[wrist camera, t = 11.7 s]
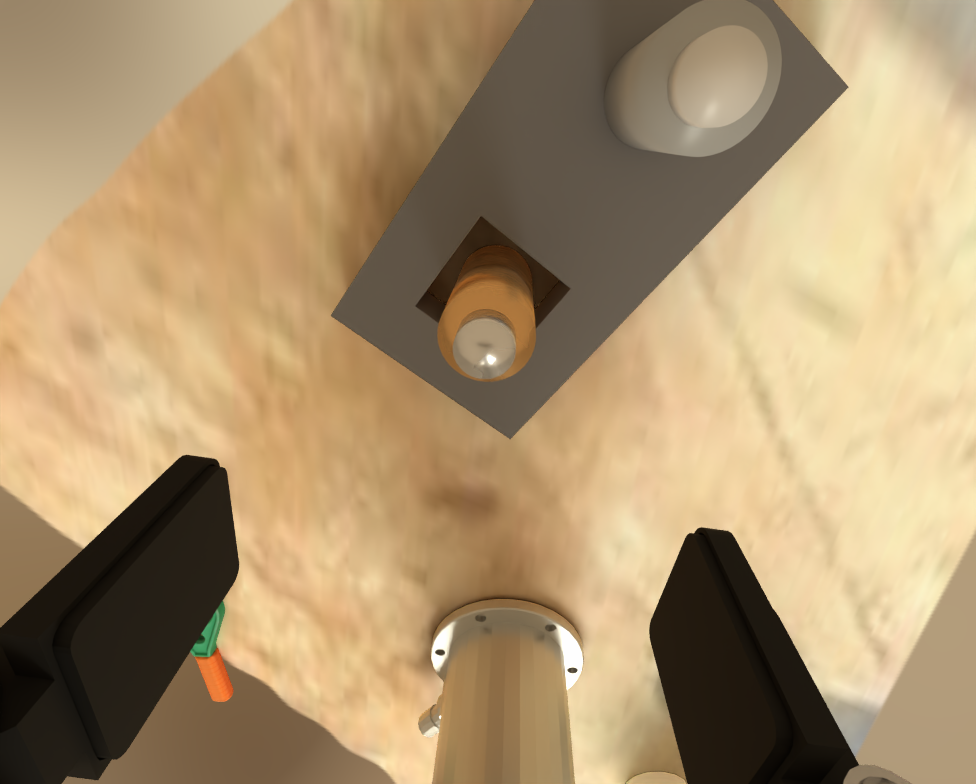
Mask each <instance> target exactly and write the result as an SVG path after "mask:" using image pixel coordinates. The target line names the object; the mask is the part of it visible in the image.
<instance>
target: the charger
mask: <svg viewBox="0 0 976 784" xmlns="http://www.w3.org/2000/svg"><path fill="white" fill-rule="evenodd" d="M847 88H848V86H847V85H846V83H845V82H844V81H843V80H842V79H841V78H840V77H839V75H838V74H837V73H836V72H835V71H834V70H833V69H832V67H831V66H830V65H829V64H828V63H827V62H826V61H825V59H824V58H823V57H822V56H821V55H820V54H819V52H818V51H817V50H816V49H815V48H814V47H813V46H812V44H811V43H810V42H809V41H808V40H807V39H806V38H805V36H804V35H803V34H802V33H801V32H800V31H799V30H798V28H797V27H796V26H795V25H794V24H793V23H792V21H791V20H790V19H789V18H788V17H787V16H786V15H785V13H784V12H783V11H782V10H781V9H780V8H779V7H778V5H777V4H776V3H775V2H774V1H773V0H535V1H534V2H533V4H532V5H531V7H530V8H529V10H528V11H527V13H526V14H525V16H524V18H523V19H522V21H521V22H520V24H519V25H518V27H517V28H516V30H515V31H514V33H513V35H512V36H511V38H510V39H509V41H508V42H507V44H506V45H505V47H504V48H503V50H502V52H501V53H500V55H499V56H498V58H497V59H496V61H495V62H494V64H493V65H492V67H491V69H490V70H489V72H488V73H487V75H486V76H485V78H484V79H483V81H482V82H481V84H480V86H479V87H478V89H477V90H476V92H475V93H474V95H473V96H472V98H471V100H470V101H469V103H468V104H467V106H466V107H465V109H464V110H463V112H462V113H461V115H460V117H459V118H458V120H457V121H456V123H455V124H454V126H453V127H452V129H451V130H450V132H449V134H448V135H447V137H446V138H445V140H444V141H443V143H442V144H441V146H440V147H439V149H438V151H437V152H436V154H435V155H434V157H433V158H432V160H431V161H430V163H429V164H428V166H427V168H426V169H425V171H424V172H423V174H422V175H421V177H420V178H419V180H418V181H417V183H416V185H415V186H414V188H413V189H412V191H411V192H410V194H409V195H408V197H407V198H406V200H405V202H404V203H403V205H402V206H401V208H400V209H399V211H398V212H397V214H396V215H395V217H394V219H393V220H392V222H391V223H390V225H389V226H388V228H387V229H386V231H385V232H384V234H383V236H382V237H381V239H380V240H379V242H378V243H377V245H376V246H375V248H374V249H373V251H372V253H371V254H370V256H369V257H368V259H367V260H366V262H365V263H364V265H363V266H362V268H361V270H360V271H359V273H358V274H357V276H356V277H355V279H354V280H353V282H352V283H351V285H350V287H349V288H348V290H347V291H346V293H345V294H344V296H343V297H342V299H341V300H340V302H339V304H338V305H337V307H336V308H335V310H334V311H333V313H332V314H331V316H332V317H333V318H335V319H336V320H338V321H339V322H341V323H342V324H344V325H345V326H346V327H348V328H349V329H351V330H352V331H354V332H355V333H357V334H358V335H360V336H361V337H362V338H364V339H365V340H367V341H368V342H370V343H371V344H373V345H374V346H375V347H377V348H378V349H380V350H381V351H383V352H384V353H386V354H387V355H389V356H390V357H391V358H393V359H394V360H396V361H397V362H399V363H400V364H402V365H403V366H405V367H406V368H407V369H409V370H410V371H412V372H413V373H415V374H416V375H418V376H419V377H421V378H422V379H423V380H425V381H426V382H428V383H429V384H431V385H432V386H434V387H435V388H437V389H438V390H439V391H441V392H442V393H444V394H445V395H447V396H448V397H450V398H451V399H452V400H454V401H455V402H457V403H458V404H460V405H461V406H463V407H464V408H466V409H467V410H468V411H470V412H471V413H473V414H474V415H476V416H477V417H479V418H480V419H482V420H483V421H484V422H486V423H487V424H489V425H490V426H492V427H493V428H495V429H496V430H498V431H499V432H500V433H502V434H503V435H505V436H506V437H508V438H509V439H511V438H512V437H513V436H514V435H515V434H516V433H517V432H518V431H519V429H520V428H521V427H522V426H523V425H524V424H525V423H526V422H527V421H528V420H529V419H530V418H531V417H532V416H533V415H534V414H535V413H536V412H537V411H538V410H539V409H540V408H541V407H542V406H543V405H544V403H545V402H546V401H547V400H548V399H549V398H550V397H551V396H552V395H553V394H554V393H555V392H556V391H557V390H558V389H559V388H560V387H561V386H562V385H563V384H564V383H565V382H566V381H567V380H568V379H569V377H570V376H571V375H572V374H573V373H574V372H575V371H576V370H577V369H578V368H579V367H580V366H581V365H582V364H583V363H584V362H585V361H586V360H587V359H588V358H589V357H590V356H591V355H592V354H593V353H594V351H595V350H596V349H597V348H598V347H599V346H600V345H601V344H602V343H603V342H604V341H605V340H606V339H607V338H608V337H609V336H610V335H611V334H612V333H613V332H614V331H615V330H616V329H617V328H618V326H619V325H620V324H621V323H622V322H623V321H624V320H625V319H626V318H627V317H628V316H629V315H630V314H631V313H632V312H633V311H634V310H635V309H636V308H637V307H638V306H639V305H640V304H641V303H642V302H643V300H644V299H645V298H646V297H647V296H648V295H649V294H650V293H651V292H652V291H653V290H654V289H655V288H656V287H657V286H658V285H659V284H660V283H661V282H662V281H663V280H664V279H665V278H666V277H667V276H668V274H669V273H670V272H671V271H672V270H673V269H674V268H675V267H676V266H677V265H678V264H679V263H680V262H681V261H682V260H683V259H684V258H685V257H686V256H687V255H688V254H689V253H690V252H691V251H692V250H693V248H694V247H695V246H696V245H697V244H698V243H699V242H700V241H701V240H702V239H703V238H704V237H705V236H706V235H707V234H708V233H709V232H710V231H711V230H712V229H713V228H714V227H715V226H716V225H717V224H718V222H719V221H720V220H721V219H722V218H723V217H724V216H725V215H726V214H727V213H728V212H729V211H730V210H731V209H732V208H733V207H734V206H735V205H736V204H737V203H738V202H739V201H740V200H741V199H742V197H743V196H744V195H745V194H746V193H747V192H748V191H749V190H750V189H751V188H752V187H753V186H754V185H755V184H756V183H757V182H758V181H759V180H760V179H761V178H762V177H763V176H764V175H765V174H766V173H767V171H768V170H769V169H770V168H771V167H772V166H773V165H774V164H775V163H776V162H777V161H778V160H779V159H780V158H781V157H782V156H783V155H784V154H785V153H786V152H787V151H788V150H789V149H790V148H791V147H792V145H793V144H794V143H795V142H796V141H797V140H798V139H799V138H800V137H801V136H802V135H803V134H804V133H805V132H806V131H807V130H808V129H809V128H810V127H811V126H812V125H813V124H814V123H815V122H816V121H817V119H818V118H819V117H820V116H821V115H822V114H823V113H824V112H825V111H826V110H827V109H828V108H829V107H830V106H831V105H832V104H833V103H834V102H835V101H836V100H837V99H838V98H839V97H840V96H841V95H842V93H843V92H844V91H845V90H846V89H847ZM480 216H482V217H483V218H484V219H485V220H487V221H488V222H489V223H490V224H492V225H493V226H494V227H495V228H497V229H498V230H499V231H500V232H502V233H503V234H504V235H505V236H506V237H508V238H509V239H510V240H511V241H513V242H514V243H515V244H516V245H518V246H519V247H520V248H521V249H522V250H524V251H525V252H526V253H527V254H529V255H530V256H531V257H532V258H534V259H535V260H536V261H537V262H538V263H540V264H541V265H542V266H543V267H545V268H546V269H547V270H548V271H550V272H551V273H552V274H553V275H554V276H556V277H557V278H558V279H559V280H560V281H559V282H558V283H557V285H556V286H555V287H554V288H553V289H552V290H551V292H550V293H549V294H548V295H547V296H546V297H545V299H544V300H543V301H542V302H541V303H540V304H539V306H538V307H537V308H536V309H535V310H534V314H535V328H536V343H535V347H534V351H533V353H532V356H531V357H530V359H529V361H528V362H527V363H526V365H525V366H524V367H523V368H522V369H521V370H520V371H518V372H517V373H516V374H514V375H512V376H511V377H508V378H506V379H503V380H499V381H493V382H484V381H477V380H473V379H470V378H467V377H465V376H463V375H461V374H460V373H458V372H457V371H456V370H454V369H453V368H452V367H451V366H450V365H449V364H448V363H447V361H446V360H445V358H444V357H443V355H442V353H441V350H440V348H439V344H438V338H437V330H438V324H439V321H440V318H441V316H442V313H443V311H444V309H445V306H446V305H445V304H443V303H442V302H441V301H439V300H438V299H437V298H435V297H434V296H432V295H431V294H430V293H428V292H427V289H428V288H429V286H430V285H431V284H432V282H433V281H434V280H435V278H436V277H437V276H438V274H439V273H440V271H441V270H442V269H443V267H444V266H445V265H446V263H447V262H448V260H449V259H450V258H451V256H452V255H453V254H454V252H455V251H456V249H457V248H458V247H459V245H460V244H461V243H462V241H463V240H464V238H465V237H466V236H467V234H468V233H469V232H470V230H471V229H472V227H473V226H474V225H475V223H476V222H477V221H478V219H479V218H480Z"/></svg>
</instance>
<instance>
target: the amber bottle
mask: <svg viewBox="0 0 976 784" xmlns="http://www.w3.org/2000/svg"><path fill="white" fill-rule="evenodd" d="M437 338H438V344H439V348H440V350H441V353H442V355H443V357H444V358H445V360H446V361H447V363H448V364H449V365H450V366H451V367H452V368H453V369H454V370H456V371H457V372H458V373H460V374H461V375H463V376H465V377H467V378H470V379H473V380H477V381H484V382H493V381H499V380H503V379H506V378H508V377H511V376H512V375H514V374H516V373H517V372H518V371H520V370H521V369H522V368H523V367H524V366H525V365H526V363H527V362H528V361H529V359H530V357H531V356H532V353H533V351H534V347H535V343H536V328H535V314H534V300H533V287H532V276H531V271H530V268H529V266H528V264H527V262H526V260H525V259H524V258H523V257H522V256H521V255H520V254H519V253H518V252H517V251H515V250H513V249H511V248H509V247H506V246H502V245H489V246H485V247H482V248H480V249H478V250H477V251H475V252H474V253H472V254H471V255H470V256H469V258H468V259H467V260H466V262H465V263H464V265H463V268H462V270H461V272H460V274H459V277H458V279H457V281H456V284H455V286H454V288H453V290H452V293H451V295H450V297H449V300H448V302H447V304H446V306H445V309H444V311H443V313H442V316H441V318H440V321H439V324H438V330H437Z"/></svg>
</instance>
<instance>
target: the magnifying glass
mask: <svg viewBox="0 0 976 784" xmlns="http://www.w3.org/2000/svg"><path fill="white" fill-rule="evenodd" d="M224 613H225V606H224V603H223V601H222V602H221V604H220V605H219V607H218V609H217V610H216V612H215V613H214V615H213V616H212V618H211V620H210V621H209V623H208V624H207V626H206V627H205V629H204V631H203V632H202V635H203V636H201V635H200V637H199V638H198V640H197V642H196V643H195V645H194V646H193V648H192V649H191V651H190V652H191V653H192V654H193V656H195V658H196V661H197V663H198V666H199V668H200V671H201V673H202V676H203V678H204V680H205V683H206V686H207V688H208V690H209V693H210V695H211V698H212V700H213V701H220V702H223V701H226V700H228V699H229V698H230V697H231V696H232V694H233V687H232V685H231V682H230V680H229V677H228V674H227V671H226V669H225V666H224V663H223V661H222V658H221V655H220V653H219V650H218V648H217V646H216V640H217V637H218V634H219V630H220V627H221V624H222V620H223V617H224Z"/></svg>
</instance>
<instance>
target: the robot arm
mask: <svg viewBox="0 0 976 784" xmlns="http://www.w3.org/2000/svg"><path fill="white" fill-rule="evenodd" d="M238 570H239V559H238V551H237V544H236V536H235V529H234V521H233V514H232V506H231V499H230V491H229V484H228V476H227V471H226V469H225V468H223V467H220V465H219V462H218V461H217V460H216V459H212V458H205V457H198V456H191V455H184V456H182V457H180V458H179V459H178V460H177V461H176V462H175V463H174V464H173V465H172V466H170V467H169V468H168V469H167V470H166V471H165V472H164V473H163V474H162V475H161V476H160V477H159V478H158V479H157V480H156V481H155V482H154V483H153V484H151V485H150V486H149V487H148V488H147V489H146V490H145V491H144V492H143V493H142V494H141V495H140V496H139V497H138V498H137V499H136V500H135V501H134V502H133V503H131V504H130V505H129V506H128V507H127V508H126V509H125V510H124V511H123V512H122V513H121V514H120V515H119V516H118V517H117V518H116V519H115V520H114V521H112V522H111V523H110V524H109V525H108V526H107V527H106V528H105V529H104V530H103V531H102V532H101V533H100V534H99V535H98V536H97V537H96V538H95V539H94V540H92V541H91V542H90V543H89V544H88V545H87V546H86V547H85V548H84V549H83V550H82V551H81V552H80V553H79V554H78V555H77V556H76V557H75V558H73V560H71V561H70V562H69V563H68V564H67V565H66V566H65V567H64V568H63V569H62V570H61V571H60V572H59V573H58V574H57V575H56V576H55V577H54V578H52V579H51V580H50V581H49V582H48V583H47V584H46V585H45V586H44V587H43V588H42V589H41V590H40V591H39V592H38V593H37V594H36V595H34V596H33V597H32V599H30V600H29V601H28V602H27V603H26V604H25V605H24V606H23V607H22V608H21V609H20V610H19V611H18V612H17V613H16V614H14V615H13V616H12V617H11V618H10V619H9V620H8V621H7V622H6V623H5V624H4V625H3V626H2V627H1V628H0V784H62V782H63V781H64V780H65V778H66V777H67V776H69V777H77V778H85V779H93V780H99V778H100V776H101V775H102V773H103V772H104V770H105V769H106V767H107V766H108V764H109V763H110V761H111V760H112V759H118V758H120V757H121V756H122V755H123V754H124V753H125V752H126V751H127V749H128V748H129V747H130V745H131V743H132V742H133V740H134V739H135V737H136V736H137V734H138V732H139V731H140V729H141V728H142V726H143V725H144V723H145V721H146V720H147V718H148V717H149V715H150V714H151V712H152V711H153V709H154V707H155V706H156V704H157V702H158V701H159V699H160V698H161V696H162V695H163V693H164V692H165V690H166V688H167V687H168V685H169V684H170V682H171V681H172V679H173V677H174V676H175V674H176V673H177V671H178V670H179V668H180V667H181V665H182V663H183V662H184V660H185V659H186V657H187V655H188V654H189V652H190V651H191V649H192V648H193V646H194V645H195V643H196V642H197V640H198V638H199V637H200V635H201V634H202V632H203V631H204V629H205V627H206V626H207V624H208V623H209V621H210V620H211V618H212V616H213V615H214V613H215V612H216V610H217V609H218V607H219V605H220V604H221V602H222V601H223V599H224V598H225V596H226V594H227V593H228V591H229V590H230V588H231V587H232V585H233V583H234V582H235V580H236V577H237V574H238ZM649 634H650V641H651V645H652V649H653V653H654V657H655V660H656V664H657V668H658V672H659V676H660V680H661V683H662V687H663V691H664V695H665V699H666V703H667V706H668V710H669V714H670V718H671V722H672V726H673V730H674V733H675V737H676V741H677V745H678V749H679V753H680V756H681V760H682V764H683V768H684V772H685V776H686V779H687V783H688V784H911V783H910V782H908V781H907V780H905V779H903V778H902V777H900V776H898V775H897V774H895V773H893V772H892V771H889V770H886V769H883V768H880V767H878V766H874V765H859V764H858V762H857V760H856V759H855V757H854V755H853V753H852V751H851V749H850V747H849V746H848V744H847V742H846V740H845V738H844V736H843V734H842V733H841V731H840V729H839V727H838V725H837V723H836V722H835V720H834V718H833V716H832V714H831V712H830V710H829V709H828V707H827V705H826V703H825V701H824V699H823V697H822V696H821V694H820V692H819V690H818V688H817V686H816V685H815V683H814V681H813V679H812V677H811V675H810V673H809V672H808V670H807V668H806V666H805V664H804V662H803V660H802V659H801V657H800V655H799V653H798V651H797V649H796V648H795V646H794V644H793V642H792V640H791V638H790V636H789V635H788V633H787V631H786V629H785V627H784V625H783V623H782V622H781V620H780V618H779V616H778V615H777V614H776V612H775V611H774V610H773V608H772V606H771V604H770V603H769V601H768V599H767V597H766V595H765V593H764V591H763V590H762V588H761V586H760V584H759V582H758V580H757V578H756V577H755V575H754V573H753V571H752V569H751V567H750V565H749V564H748V562H747V560H746V558H745V556H744V554H743V552H742V550H741V549H740V547H739V545H738V543H737V541H736V539H735V537H734V536H733V535H732V533H730V532H729V531H724V530H717V529H710V528H702V527H701V528H698V529H697V530H696V531H695V533H694V534H693V533H689V534H688V535H687V536H686V538H685V540H684V543H683V545H682V547H681V550H680V552H679V554H678V557H677V559H676V562H675V564H674V566H673V569H672V571H671V574H670V576H669V578H668V581H667V583H666V586H665V588H664V590H663V593H662V595H661V598H660V600H659V602H658V605H657V607H656V610H655V612H654V614H653V617H652V619H651V622H650V628H649ZM431 660H432V665H433V667H434V669H435V671H436V673H437V675H438V676H439V677H440V678H441V679H442V680H443V682H444V685H443V693H442V694H441V695H440V696H439V698H438V701H437V704H435V705H433V706H432V707H430V708H429V709H428V710H426V711H425V712H424V713H423V714H422V715H421V716H420V717H419V722H418V725H419V729H420V731H421V733H422V734H423V735H424V736H426V737H433V736H434V735H435V734H437V733H438V732H439V736H438V743H437V751H436V758H435V766H434V773H433V781H432V784H575V778H574V766H573V754H572V743H571V731H570V720H569V708H568V696H567V689H569V688H570V687H571V686H572V685H573V684H574V683H575V681H576V680H577V679H578V678H579V676H580V673H581V671H582V669H583V662H584V656H583V647H582V643H581V640H580V637H579V635H578V633H577V632H576V630H575V629H574V627H573V626H572V625H571V624H570V623H569V622H568V621H567V620H566V619H565V618H563V617H562V616H560V615H559V614H557V613H556V612H554V611H552V610H550V609H548V608H546V607H543V606H541V605H538V604H535V603H531V602H528V601H522V600H515V599H491V600H484V601H479V602H475V603H472V604H468V605H466V606H464V607H462V608H460V609H457V610H455V611H454V612H452V613H451V614H450V615H448V616H447V617H446V618H445V619H444V620H443V621H442V622H441V623H440V624H439V625H438V627H437V629H436V631H435V633H434V636H433V641H432V646H431Z"/></svg>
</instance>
